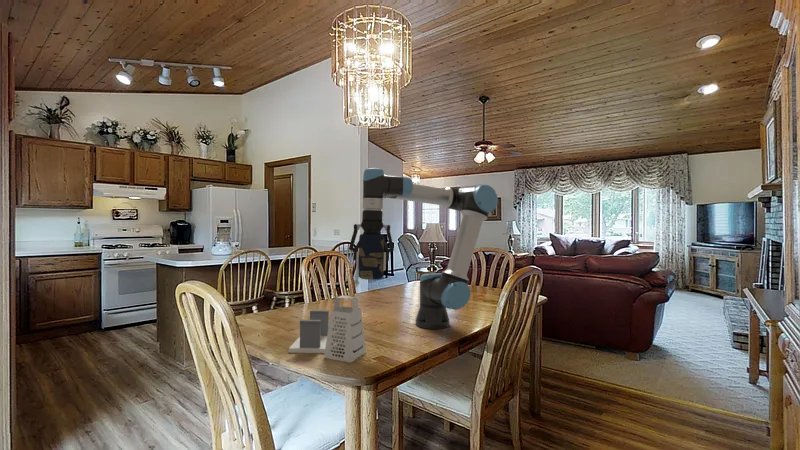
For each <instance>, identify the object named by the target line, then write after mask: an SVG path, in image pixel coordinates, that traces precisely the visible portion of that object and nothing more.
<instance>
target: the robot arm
mask: <svg viewBox="0 0 800 450" xmlns="http://www.w3.org/2000/svg"><path fill="white" fill-rule="evenodd" d="M385 198H386V199H387V198H388V199H393V200H394V199H395V200H403V201H408V202H409V201H410V202H416V203H424V204H429V205H430V204H431V205H435V206H436V205H437V206H442V207H443V208H444V209H449V210H453V211H458V212H460V213H461V214H462V219H461V222H460V224H459V225H460V226H459V229H458V231H457V235H456V238H455V242H454V245H453V248H452V252H451V254H450V257H449V260H448V265H447V268H446V269H445V270H442V271H441V272H440V273H438V272H437V273H423V274H421V275H420V278H419V308H418V311H417V315H416V317H415V325H416V326H417V327H420V328H422V329H428V330H441V329H446V328H448V327H450V317H449V315H448V311H447V309H448V310H449V309H450V310H461V309H462V308H464V307H465V306H466V305H468V302H469V301H470V299H471V290H470V287H469V282H470V281H469V280H470V279H469V278H468V272H469V269H470V266H471V262H472V258H473V255H474V251H475V248H476V246H477V242H478V238H479V235H480V231H481V229H482V225H483V222H485V221H487V220H488V216H489V214H490V213H491V212H493V211H495V210H496V209H497V207H498V204H499V203H498V202H499V200H498V199H499V198H498V194H497V193H496V190H495V189H494V187H492V186H490V185H489V184H477V185H476V184H475V185H469V186H461V187H448V186H447V187H445V188H441V187H435V186H431V185H429V186H428V185H424V184H423V185H422V184H416V183H414V182H413V180H412V178H410V177H408V176H403V175H402V176H398V175H386V174H385V173H384V170H383V169H382V168H379V167H378V168H377V167H369V168H366V169H364V171H363V176H362V209H363V210H362V213H361V214H362V217H361V219H362V220H361V223H358V224H357V223H354V224H353V232H352V236H351V239H350V243H349V247H348V249H349V250H350V251H351V252H353V261H355V262H356V263H355V264H356V266H355V270H357V271H359V240H358V242H356V238H357V235H358V231H359V230H360V228H362V230H363V233H362V234H380V235H381V234H382V233H381V231H382V230H383V229H384V230H385V232H386V236H387V240H388V244H389V246H388V245H387V243H386V241H385V240H384V268H383V270H384V271H386V270H387V269H386V268H387V267H386V265H387V262H389V261H390V253H391V252H394V251H395V247H394V244H393V238H392V234H391V225H390V224H387V225H386V224H384V223H383V214H384V213H383V207H384V206H383V204H384V199H385ZM355 242H356V245H355ZM354 245H355V247H354Z"/></svg>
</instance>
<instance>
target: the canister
mask: <svg viewBox="0 0 800 450" xmlns="http://www.w3.org/2000/svg"><path fill="white" fill-rule="evenodd" d="M358 241H359V249H358V252H359V269H358V278H359V279H362V280H371V281H372V280H373V281H375V280H381V279H383V278H384V275H385V274H384V272H385V270H383V268H384V252H385V249H384V241H385V236H384V234H382V233H381V235H380V234H363V233H362V234H360V235H359V238H358Z"/></svg>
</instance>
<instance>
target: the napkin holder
mask: <svg viewBox="0 0 800 450" xmlns="http://www.w3.org/2000/svg"><path fill="white" fill-rule="evenodd" d="M329 313H330V310H329V309H327V310H326V309H323V310H322V309H311V310H309V319H300V320H299V336H298V337H297V338H296V340H295V341H293V343H292V345H290V346H289V348H288V352H289V353H290V354H292V353H293V354H294V353H295V354H297V353H298V354H325V347H326V341H327V334H328V328H329V321H330V314H329Z"/></svg>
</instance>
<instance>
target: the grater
mask: <svg viewBox="0 0 800 450" xmlns="http://www.w3.org/2000/svg"><path fill="white" fill-rule="evenodd" d="M341 299H349V300H350V301H351V302H352V307H351V306H344V305H343V306H341V304H340V303H341V302H340V301H341ZM361 309H362V308H360V307H359V300H358V298H357V296H350V295H339V296H337V297H335V298H334V300H333V309H332V310H331V311H330V314H329V322H328V334H327V341H326V347H325V353H323V357H324V359H328V358H329V360H334V361H335V360H336V361H339V360H340V362H345V361H346V363H350V362H351V363H352V361H353V362H354V361H356V360H357V359H359V358H360V357H362V356H363V355H364V354H366V353H367V349H366V340H365V333H364V324H363V317H362V310H361ZM340 352H341V353H340ZM339 355H340V356H339ZM361 355H362V356H361ZM342 356H343V357H342ZM358 357H359V358H358ZM355 359H356V360H355Z"/></svg>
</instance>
